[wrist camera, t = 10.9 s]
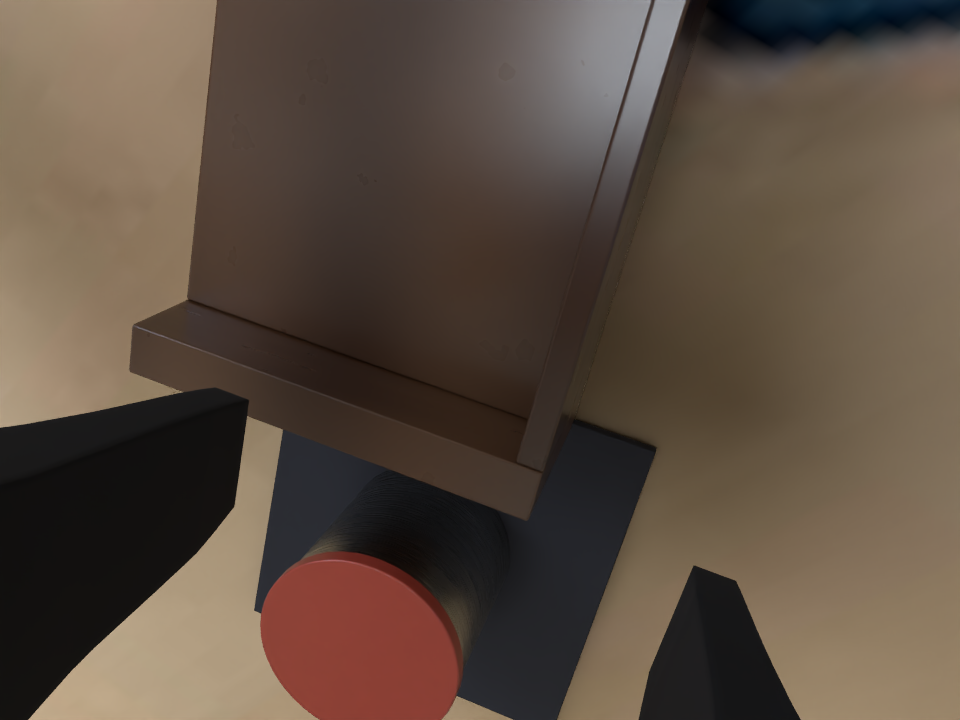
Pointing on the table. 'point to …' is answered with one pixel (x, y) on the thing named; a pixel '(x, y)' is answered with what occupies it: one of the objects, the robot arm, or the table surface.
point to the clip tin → (387, 603)
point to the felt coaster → (532, 566)
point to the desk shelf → (420, 222)
